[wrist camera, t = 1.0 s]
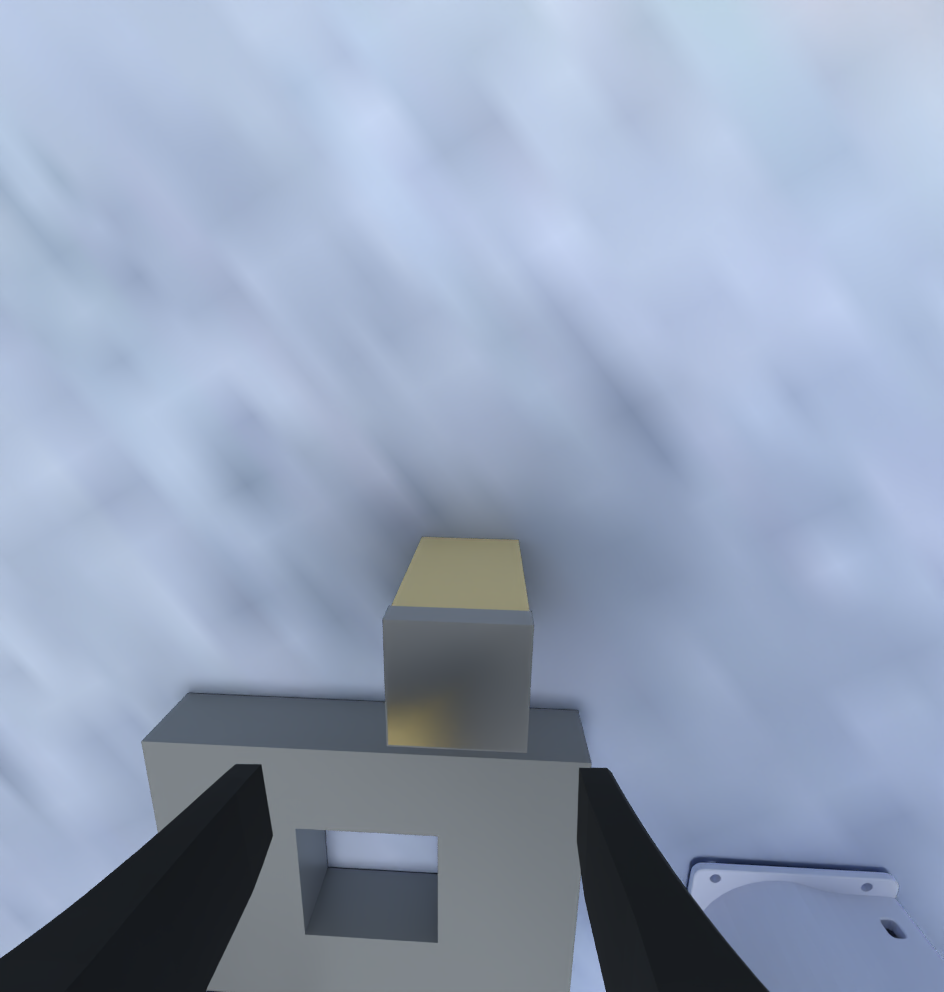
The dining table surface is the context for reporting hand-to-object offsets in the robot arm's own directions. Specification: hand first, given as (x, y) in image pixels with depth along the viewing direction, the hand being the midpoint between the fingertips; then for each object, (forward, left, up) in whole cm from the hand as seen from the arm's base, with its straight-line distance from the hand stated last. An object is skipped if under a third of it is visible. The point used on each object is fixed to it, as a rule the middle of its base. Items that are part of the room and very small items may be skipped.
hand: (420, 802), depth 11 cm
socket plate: (+3, +12, -10) cm, 16 cm away
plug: (-1, -1, -10) cm, 10 cm away
